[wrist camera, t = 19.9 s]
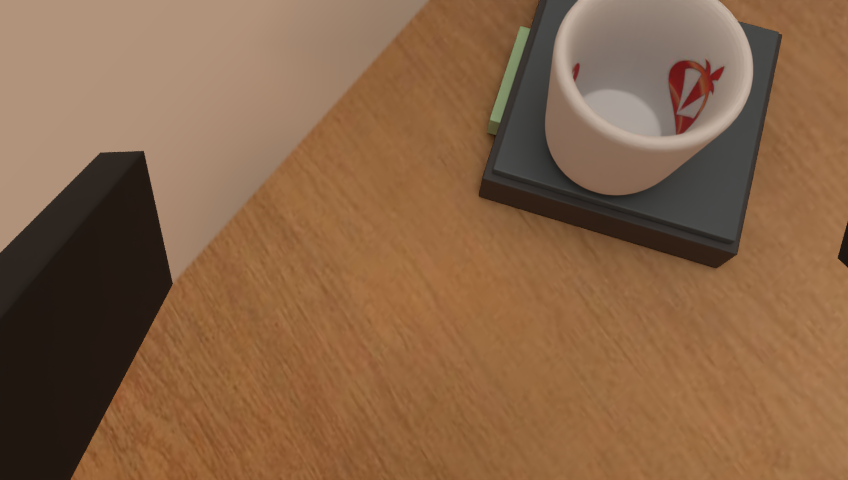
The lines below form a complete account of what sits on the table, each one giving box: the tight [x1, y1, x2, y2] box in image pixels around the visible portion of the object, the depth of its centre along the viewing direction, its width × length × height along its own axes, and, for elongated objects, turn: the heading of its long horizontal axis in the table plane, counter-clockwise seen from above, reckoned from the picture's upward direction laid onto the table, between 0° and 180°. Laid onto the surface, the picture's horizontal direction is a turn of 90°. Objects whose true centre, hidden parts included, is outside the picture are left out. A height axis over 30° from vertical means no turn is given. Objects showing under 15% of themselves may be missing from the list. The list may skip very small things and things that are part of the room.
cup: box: [545, 0, 753, 195], centre depth 33 cm, size 11×8×8 cm
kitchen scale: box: [479, 0, 782, 268], centre depth 39 cm, size 14×13×3 cm
